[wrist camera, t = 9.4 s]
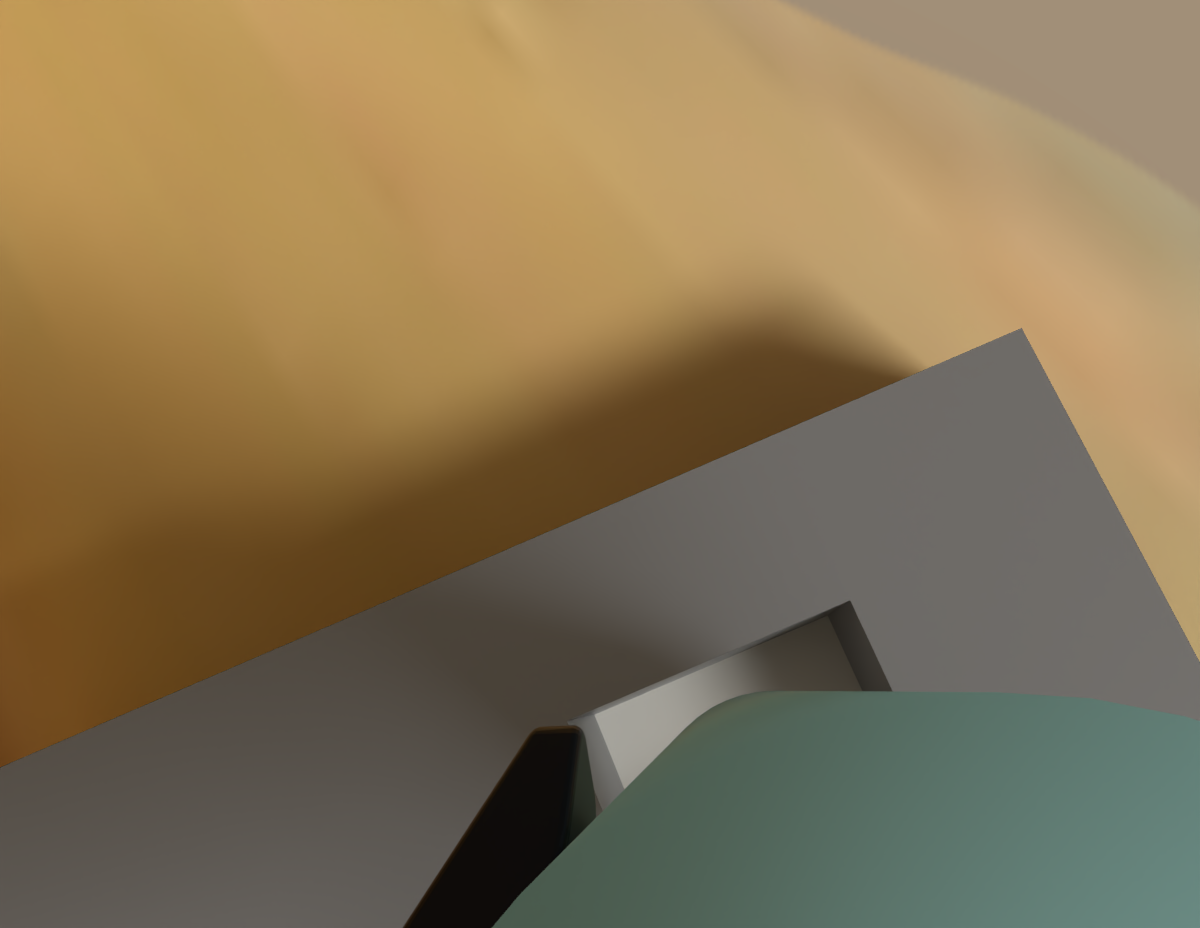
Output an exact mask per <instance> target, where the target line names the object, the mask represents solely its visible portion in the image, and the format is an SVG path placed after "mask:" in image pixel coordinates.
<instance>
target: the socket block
mask: <svg viewBox="0 0 1200 928" xmlns="http://www.w3.org/2000/svg"><path fill="white" fill-rule="evenodd" d="M762 691H890V692H1001V693H1016V694H1032V695H1048V696H1064V697H1080V698H1092V699H1097V700H1102V701H1108V702H1113V703H1118V704H1123V705H1129V706H1134V707H1139V708H1144V709H1149V710H1155V711H1160V712H1165V713H1170V714H1176V715H1181V716H1185V717H1189V718H1192V719H1195V720H1198V721H1200V662H1199V660H1198V658H1197V656H1196V654H1195V652H1194V651H1193V649H1192V647H1191V645H1190V643H1189V641H1188V639H1187V637H1186V636H1185V634H1184V632H1183V630H1182V628H1181V626H1180V624H1179V622H1178V621H1177V619H1176V617H1175V615H1174V613H1173V611H1172V609H1171V607H1170V606H1169V604H1168V602H1167V600H1166V598H1165V596H1164V594H1163V592H1162V591H1161V589H1160V587H1159V585H1158V583H1157V581H1156V579H1155V577H1154V576H1153V574H1152V572H1151V570H1150V568H1149V566H1148V564H1147V562H1146V561H1145V559H1144V557H1143V555H1142V553H1141V551H1140V549H1139V547H1138V546H1137V544H1136V542H1135V540H1134V538H1133V536H1132V534H1131V532H1130V530H1129V529H1128V527H1127V525H1126V523H1125V521H1124V519H1123V517H1122V515H1121V514H1120V512H1119V510H1118V508H1117V506H1116V504H1115V502H1114V500H1113V499H1112V497H1111V495H1110V493H1109V491H1108V489H1107V487H1106V485H1105V484H1104V482H1103V480H1102V478H1101V476H1100V474H1099V472H1098V470H1097V469H1096V467H1095V465H1094V463H1093V461H1092V459H1091V457H1090V455H1089V454H1088V452H1087V450H1086V448H1085V446H1084V444H1083V442H1082V440H1081V439H1080V437H1079V435H1078V433H1077V431H1076V429H1075V427H1074V425H1073V424H1072V422H1071V420H1070V418H1069V416H1068V414H1067V412H1066V410H1065V409H1064V407H1063V405H1062V403H1061V401H1060V399H1059V397H1058V395H1057V394H1056V392H1055V390H1054V388H1053V386H1052V384H1051V382H1050V380H1049V379H1048V377H1047V375H1046V373H1045V371H1044V369H1043V367H1042V365H1041V364H1040V362H1039V360H1038V358H1037V356H1036V354H1035V352H1034V350H1033V349H1032V347H1031V345H1030V343H1029V341H1028V339H1027V337H1026V335H1025V334H1024V332H1023V330H1022V328H1021V329H1018V330H1016V331H1014V332H1011V333H1009V334H1007V335H1004V336H1002V337H1000V338H998V339H995V340H993V341H991V342H988V343H986V344H984V345H981V346H979V347H977V348H974V349H972V350H970V351H967V352H965V353H963V354H960V355H958V356H956V357H953V358H951V359H949V360H946V361H944V362H942V363H939V364H937V365H935V366H932V367H930V368H928V369H925V370H923V371H921V372H918V373H916V374H914V375H911V376H909V377H907V378H905V379H902V380H900V381H898V382H895V383H893V384H891V385H888V386H886V387H884V388H881V389H879V390H877V391H874V392H872V393H870V394H867V395H865V396H863V397H860V398H858V399H856V400H853V401H851V402H849V403H846V404H844V405H842V406H839V407H837V408H835V409H832V410H830V411H828V412H825V413H823V414H821V415H818V416H816V417H814V418H812V419H809V420H807V421H805V422H802V423H800V424H798V425H795V426H793V427H791V428H788V429H786V430H784V431H781V432H779V433H777V434H774V435H772V436H770V437H767V438H765V439H763V440H760V441H758V442H756V443H753V444H751V445H749V446H746V447H744V448H742V449H739V450H737V451H735V452H732V453H730V454H728V455H725V456H723V457H721V458H719V459H716V460H714V461H712V462H709V463H707V464H705V465H702V466H700V467H698V468H695V469H693V470H691V471H688V472H686V473H684V474H681V475H679V476H677V477H674V478H672V479H670V480H667V481H665V482H663V483H660V484H658V485H656V486H653V487H651V488H649V489H646V490H644V491H642V492H639V493H637V494H635V495H632V496H630V497H628V498H626V499H623V500H621V501H619V502H616V503H614V504H612V505H609V506H607V507H605V508H602V509H600V510H598V511H595V512H593V513H591V514H588V515H586V516H584V517H581V518H579V519H577V520H574V521H572V522H570V523H567V524H565V525H563V526H560V527H558V528H556V529H553V530H551V531H549V532H546V533H544V534H542V535H539V536H537V537H535V538H533V539H530V540H528V541H526V542H523V543H521V544H519V545H516V546H514V547H512V548H509V549H507V550H505V551H502V552H500V553H498V554H495V555H493V556H491V557H488V558H486V559H484V560H481V561H479V562H477V563H474V564H472V565H470V566H467V567H465V568H463V569H460V570H458V571H456V572H453V573H451V574H449V575H446V576H444V577H442V578H439V579H437V580H435V581H433V582H430V583H428V584H426V585H423V586H421V587H419V588H416V589H414V590H412V591H409V592H407V593H405V594H402V595H400V596H398V597H395V598H393V599H391V600H388V601H386V602H384V603H381V604H379V605H377V606H374V607H372V608H370V609H367V610H365V611H363V612H360V613H358V614H356V615H353V616H351V617H349V618H346V619H344V620H342V621H340V622H337V623H335V624H333V625H330V626H328V627H326V628H323V629H321V630H319V631H316V632H314V633H312V634H309V635H307V636H305V637H302V638H300V639H298V640H295V641H293V642H291V643H288V644H286V645H284V646H281V647H279V648H277V649H274V650H272V651H270V652H267V653H265V654H263V655H260V656H258V657H256V658H253V659H251V660H249V661H247V662H244V663H242V664H240V665H237V666H235V667H233V668H230V669H228V670H226V671H223V672H221V673H219V674H216V675H214V676H212V677H209V678H207V679H205V680H202V681H200V682H198V683H195V684H193V685H191V686H188V687H186V688H184V689H181V690H179V691H177V692H174V693H172V694H170V695H167V696H165V697H163V698H160V699H158V700H156V701H154V702H151V703H149V704H147V705H144V706H142V707H140V708H137V709H135V710H133V711H130V712H128V713H126V714H123V715H121V716H119V717H116V718H114V719H112V720H109V721H107V722H105V723H102V724H100V725H98V726H95V727H93V728H91V729H88V730H86V731H84V732H81V733H79V734H77V735H74V736H72V737H70V738H67V739H65V740H63V741H61V742H58V743H56V744H54V745H51V746H49V747H47V748H44V749H42V750H40V751H37V752H35V753H33V754H30V755H28V756H26V757H23V758H21V759H19V760H16V761H14V762H12V763H9V764H7V765H5V766H2V767H0V928H403V926H404V925H405V923H406V922H407V920H408V919H409V917H410V915H411V914H412V912H413V911H414V909H415V908H416V906H417V905H418V903H419V902H420V900H421V899H422V897H423V896H424V894H425V893H426V891H427V889H428V888H429V886H430V885H431V883H432V882H433V880H434V879H435V877H436V876H437V874H438V873H439V871H440V870H441V868H442V867H443V865H444V863H445V862H446V860H447V859H448V857H449V856H450V854H451V853H452V851H453V850H454V848H455V847H456V845H457V844H458V842H459V841H460V839H461V837H462V836H463V834H464V833H465V831H466V830H467V828H468V827H469V825H470V824H471V822H472V821H473V819H474V818H475V816H476V815H477V813H478V812H479V810H480V808H481V807H482V805H483V804H484V802H485V801H486V799H487V798H488V796H489V795H490V793H491V792H492V790H493V789H494V787H495V786H496V784H497V782H498V781H499V779H500V778H501V776H502V775H503V773H504V772H505V770H506V769H507V767H508V766H509V764H510V763H511V761H512V760H513V758H514V756H515V755H516V753H517V752H518V750H519V749H520V747H521V746H522V744H523V743H524V741H525V740H526V738H527V737H528V735H529V734H530V733H531V732H532V731H533V730H534V729H536V728H537V727H545V726H569V725H575V726H578V727H580V728H582V730H583V731H584V734H585V737H586V743H587V749H588V755H589V761H590V767H591V774H592V780H593V786H594V792H595V802H596V817H597V816H598V815H599V814H600V813H601V812H602V811H603V810H604V809H605V808H606V807H607V806H608V805H609V804H610V803H611V802H612V801H613V800H614V799H615V798H616V797H617V796H618V795H619V794H620V793H621V792H622V791H623V790H624V789H625V788H626V787H627V786H628V785H629V784H630V783H631V782H632V781H633V780H634V779H635V778H636V777H637V776H638V775H639V774H640V773H641V772H642V771H643V770H644V769H645V768H646V767H647V766H648V765H649V764H650V763H651V762H652V761H653V760H654V759H655V758H656V757H657V756H658V755H659V754H660V753H661V752H662V751H663V750H664V749H665V748H666V747H667V746H668V745H669V744H670V743H671V742H672V741H673V740H674V739H675V738H676V737H677V736H678V735H679V734H680V733H681V732H682V731H683V730H684V729H685V728H686V727H687V726H688V725H689V724H691V723H692V722H693V721H694V720H695V719H696V718H697V717H699V716H700V715H702V714H703V713H705V712H706V711H707V710H709V709H710V708H712V707H714V706H716V705H718V704H720V703H722V702H724V701H726V700H729V699H732V698H735V697H738V696H741V695H745V694H750V693H755V692H762Z"/></svg>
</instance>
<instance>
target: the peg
mask: <svg viewBox="0 0 1200 928" xmlns="http://www.w3.org/2000/svg"><path fill="white" fill-rule="evenodd" d="M492 928H1200V721H1198V720H1195V719H1192V718H1189V717H1185V716H1181V715H1176V714H1170V713H1165V712H1160V711H1155V710H1149V709H1144V708H1139V707H1134V706H1129V705H1123V704H1118V703H1113V702H1108V701H1102V700H1097V699H1092V698H1080V697H1064V696H1048V695H1032V694H1016V693H1001V692H890V691H762V692H755V693H750V694H745V695H741V696H738V697H735V698H732V699H729V700H726V701H724V702H722V703H720V704H718V705H716V706H714V707H712V708H710V709H709V710H707V711H706V712H705V713H703V714H702V715H700V716H699V717H697V718H696V719H695V720H694V721H693V722H692V723H691V724H689V725H688V726H687V727H686V728H685V729H684V730H683V731H682V732H681V733H680V734H679V735H678V736H677V737H676V738H675V739H674V740H673V741H672V742H671V743H670V744H669V745H668V746H667V747H666V748H665V749H664V750H663V751H662V752H661V753H660V754H659V755H658V756H657V757H656V758H655V759H654V760H653V761H652V762H651V763H650V764H649V765H648V766H647V767H646V768H645V769H644V770H643V771H642V772H641V773H640V774H639V775H638V776H637V777H636V778H635V779H634V780H633V781H632V782H631V783H630V784H629V785H628V786H627V787H626V788H625V789H624V790H623V791H622V792H621V793H620V794H619V795H618V796H617V797H616V798H615V799H614V800H613V801H612V802H611V803H610V804H609V805H608V806H607V807H606V808H605V809H604V810H603V811H602V812H601V813H600V814H599V815H598V816H597V817H596V818H595V819H594V820H593V821H592V822H591V823H590V824H589V825H588V826H587V827H586V828H585V830H584V831H583V832H582V833H581V834H580V835H579V836H578V837H577V838H576V839H575V840H574V841H573V842H572V843H571V844H570V845H569V846H568V847H567V848H566V849H565V850H564V851H563V852H562V853H561V854H560V855H559V856H558V857H557V858H556V859H555V860H554V861H553V862H552V863H551V864H550V865H549V866H548V867H547V868H546V869H545V870H544V871H543V872H542V873H541V874H540V875H539V876H538V877H537V878H536V879H535V880H534V881H533V882H532V883H531V884H530V885H529V886H528V887H527V888H526V889H525V890H524V891H523V892H522V893H521V894H520V895H519V896H518V897H517V898H516V900H515V901H514V902H513V903H512V904H511V906H510V907H509V908H508V909H507V910H506V912H505V913H504V914H503V915H502V916H501V917H500V919H499V920H498V921H497V922H496V923H495V925H494V926H493V927H492Z"/></svg>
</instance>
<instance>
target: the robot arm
mask: <svg viewBox="0 0 1200 928" xmlns="http://www.w3.org/2000/svg"><path fill="white" fill-rule="evenodd" d="M595 818H596V802H595V792H594V786H593V780H592V774H591V767H590V761H589V755H588V749H587V743H586V737H585V734H584V731H583V730H582V728H580V727H578V726H575V725H569V726H545V727H537V728H536V729H534V730H533V731H532V732H531V733H530V734H529V735H528V737H527V738H526V740H525V741H524V743H523V744H522V746H521V747H520V749H519V750H518V752H517V753H516V755H515V756H514V758H513V760H512V761H511V763H510V764H509V766H508V767H507V769H506V770H505V772H504V773H503V775H502V776H501V778H500V779H499V781H498V782H497V784H496V786H495V787H494V789H493V790H492V792H491V793H490V795H489V796H488V798H487V799H486V801H485V802H484V804H483V805H482V807H481V808H480V810H479V812H478V813H477V815H476V816H475V818H474V819H473V821H472V822H471V824H470V825H469V827H468V828H467V830H466V831H465V833H464V834H463V836H462V837H461V839H460V841H459V842H458V844H457V845H456V847H455V848H454V850H453V851H452V853H451V854H450V856H449V857H448V859H447V860H446V862H445V863H444V865H443V867H442V868H441V870H440V871H439V873H438V874H437V876H436V877H435V879H434V880H433V882H432V883H431V885H430V886H429V888H428V889H427V891H426V893H425V894H424V896H423V897H422V899H421V900H420V902H419V903H418V905H417V906H416V908H415V909H414V911H413V912H412V914H411V915H410V917H409V919H408V920H407V922H406V923H405V925H404V926H403V928H492V927H493V926H494V925H495V923H496V922H497V921H498V920H499V919H500V917H501V916H502V915H503V914H504V913H505V912H506V910H507V909H508V908H509V907H510V906H511V904H512V903H513V902H514V901H515V900H516V898H517V897H518V896H519V895H520V894H521V893H522V892H523V891H524V890H525V889H526V888H527V887H528V886H529V885H530V884H531V883H532V882H533V881H534V880H535V879H536V878H537V877H538V876H539V875H540V874H541V873H542V872H543V871H544V870H545V869H546V868H547V867H548V866H549V865H550V864H551V863H552V862H553V861H554V860H555V859H556V858H557V857H558V856H559V855H560V854H561V853H562V852H563V851H564V850H565V849H566V848H567V847H568V846H569V845H570V844H571V843H572V842H573V841H574V840H575V839H576V838H577V837H578V836H579V835H580V834H581V833H582V832H583V831H584V830H585V828H586V827H587V826H588V825H589V824H590V823H591V822H592V821H593V820H594V819H595Z"/></svg>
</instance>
